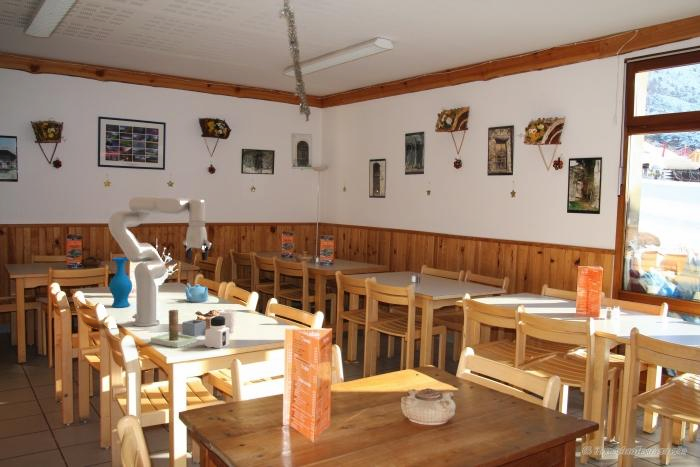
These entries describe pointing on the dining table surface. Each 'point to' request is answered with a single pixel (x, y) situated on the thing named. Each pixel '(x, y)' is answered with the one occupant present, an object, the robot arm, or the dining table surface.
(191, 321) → the blue-grey block
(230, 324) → the white cup
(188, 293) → the teapot
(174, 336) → the walnut dowel
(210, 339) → the container
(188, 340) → the sage tray
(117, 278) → the vase
